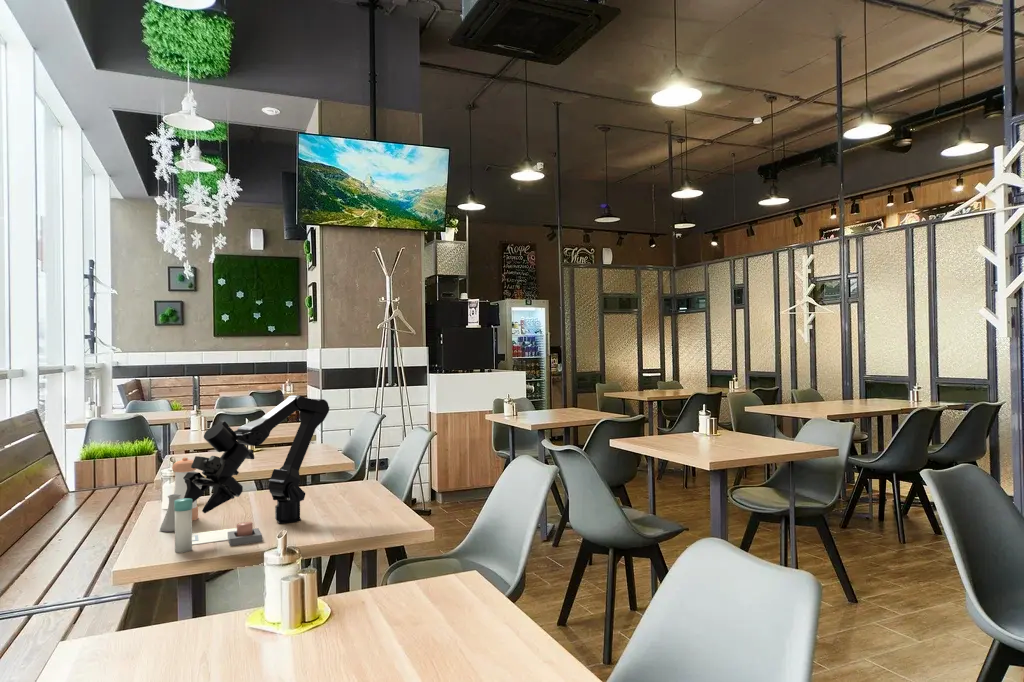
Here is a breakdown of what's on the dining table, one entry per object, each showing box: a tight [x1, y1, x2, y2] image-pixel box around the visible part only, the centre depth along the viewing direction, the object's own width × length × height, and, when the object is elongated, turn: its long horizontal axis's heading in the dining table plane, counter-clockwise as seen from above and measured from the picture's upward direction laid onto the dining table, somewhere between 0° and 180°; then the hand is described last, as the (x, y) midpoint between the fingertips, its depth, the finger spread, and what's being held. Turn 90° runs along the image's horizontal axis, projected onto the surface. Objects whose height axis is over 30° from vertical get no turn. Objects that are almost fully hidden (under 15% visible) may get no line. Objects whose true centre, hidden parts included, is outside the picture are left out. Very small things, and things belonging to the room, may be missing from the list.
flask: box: [159, 493, 181, 532], centre depth 190 cm, size 7×7×10 cm
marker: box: [174, 498, 193, 554], centre depth 169 cm, size 4×4×13 cm
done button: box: [236, 521, 254, 537], centre depth 178 cm, size 4×4×3 cm
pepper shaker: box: [171, 457, 199, 522], centre depth 201 cm, size 7×7×19 cm
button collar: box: [227, 527, 263, 547], centre depth 178 cm, size 8×8×2 cm
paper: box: [192, 527, 237, 546], centre depth 181 cm, size 17×12×1 cm
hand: (192, 510), depth 171 cm, fingers open, 9 cm apart
